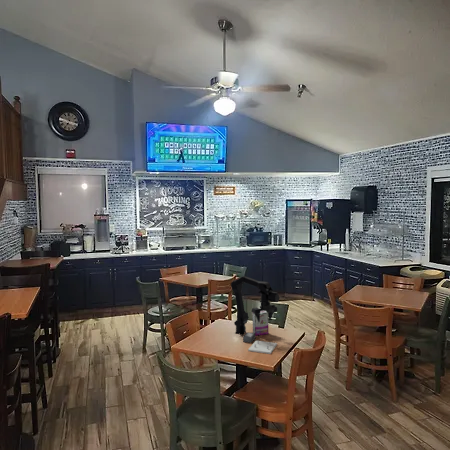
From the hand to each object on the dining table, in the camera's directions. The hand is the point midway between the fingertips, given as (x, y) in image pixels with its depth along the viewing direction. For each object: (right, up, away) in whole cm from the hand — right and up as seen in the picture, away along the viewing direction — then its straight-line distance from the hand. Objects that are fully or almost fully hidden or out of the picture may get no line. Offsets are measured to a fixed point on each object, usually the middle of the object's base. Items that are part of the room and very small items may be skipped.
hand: (264, 321), depth 277 cm
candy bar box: (-2, -12, +10) cm, 16 cm away
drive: (-11, -13, -3) cm, 17 cm away
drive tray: (-3, -13, -18) cm, 22 cm away
